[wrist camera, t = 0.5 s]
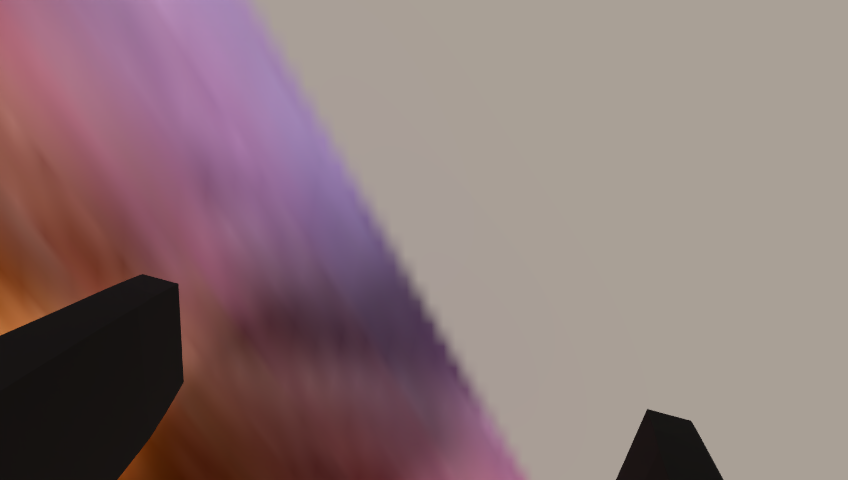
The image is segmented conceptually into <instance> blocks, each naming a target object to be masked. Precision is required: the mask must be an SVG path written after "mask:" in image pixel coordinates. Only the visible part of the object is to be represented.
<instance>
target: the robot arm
mask: <svg viewBox="0 0 848 480" xmlns="http://www.w3.org/2000/svg"><path fill="white" fill-rule="evenodd" d="M183 382H184V380H183V362H182V343H181V325H180V307H179V289H178V284H177V283H173V282H170V281H166V280H162V279H158V278H155V277H151V276H147V275H144V274H142V275H139V276H136V277H134V278H131V279H129V280H126V281H124V282H121V283H119V284H117V285H114V286H112V287H110V288H107V289H105V290H103V291H100V292H98V293H96V294H94V295H91V296H89V297H87V298H85V299H82V300H80V301H78V302H76V303H74V304H71V305H69V306H67V307H65V308H62V309H60V310H58V311H56V312H53V313H51V314H49V315H46V316H44V317H42V318H40V319H37V320H35V321H33V322H31V323H28V324H26V325H24V326H21V327H19V328H17V329H15V330H12V331H10V332H8V333H5V334H3V335H1V336H0V480H117V479H118V478H119V477H120V475H121V474H122V473H123V472H124V470H125V469H126V468H127V467H128V465H129V464H130V463H131V461H132V460H133V459H134V458H135V456H136V455H137V454H138V453H139V451H140V450H141V449H142V447H143V446H144V445H145V443H146V442H147V441H148V440H149V438H150V437H151V435H152V434H153V432H154V430H155V429H156V427H157V426H158V424H159V423H160V421H161V419H162V418H163V416H164V415H165V413H166V411H167V410H168V408H169V406H170V405H171V403H172V401H173V399H174V398H175V396H176V394H177V393H178V391H179V389H180V387H181V386H182V384H183ZM616 480H723V478H722V476H721V474H720V473H719V471H718V469H717V467H716V465H715V463H714V462H713V460H712V458H711V456H710V454H709V452H708V451H707V449H706V447H705V445H704V443H703V441H702V439H701V437H700V436H699V434H698V432H697V430H696V428H695V427H694V425H693V423H692V422H691V421H689V420H685V419H682V418H678V417H674V416H671V415H667V414H663V413H659V412H656V411H652V410H648V409H647V411H646V413H645V416H644V418H643V420H642V422H641V424H640V427H639V429H638V431H637V434H636V436H635V438H634V440H633V443H632V445H631V448H630V450H629V452H628V454H627V456H626V459H625V461H624V463H623V465H622V468H621V470H620V472H619V475H618V477H617V479H616Z"/></svg>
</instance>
